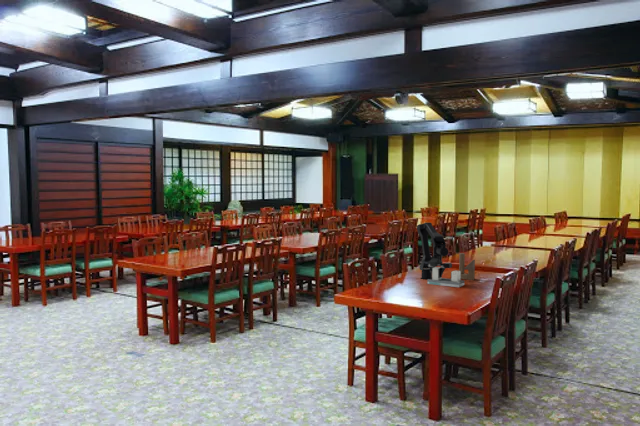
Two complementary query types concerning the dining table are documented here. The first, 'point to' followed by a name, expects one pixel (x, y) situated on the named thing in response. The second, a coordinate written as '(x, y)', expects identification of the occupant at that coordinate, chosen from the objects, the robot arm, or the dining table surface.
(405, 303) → the dining table surface
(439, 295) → the dining table surface
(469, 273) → the beige frame piece
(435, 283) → the rail
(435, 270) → the white rectangular block
